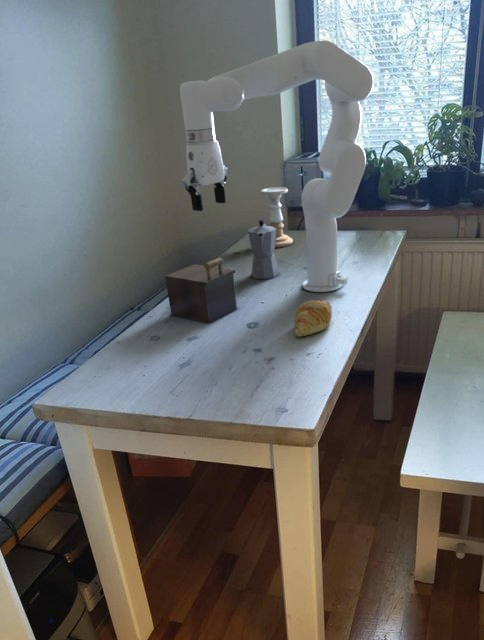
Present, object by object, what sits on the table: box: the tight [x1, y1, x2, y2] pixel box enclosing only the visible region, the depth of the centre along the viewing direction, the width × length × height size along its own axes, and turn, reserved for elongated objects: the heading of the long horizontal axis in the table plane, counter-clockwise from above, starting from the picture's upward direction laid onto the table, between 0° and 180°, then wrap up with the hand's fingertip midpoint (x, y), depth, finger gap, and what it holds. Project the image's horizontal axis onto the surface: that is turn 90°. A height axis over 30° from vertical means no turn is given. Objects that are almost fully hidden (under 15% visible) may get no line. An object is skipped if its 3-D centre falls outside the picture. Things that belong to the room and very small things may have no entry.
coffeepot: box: [247, 219, 279, 280], centre depth 203 cm, size 15×9×18 cm, turn 176°
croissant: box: [294, 299, 333, 337], centre depth 163 cm, size 21×10×8 cm, turn 156°
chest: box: [165, 273, 238, 324], centre depth 177 cm, size 15×13×11 cm
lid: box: [164, 256, 236, 285], centre depth 172 cm, size 16×13×5 cm
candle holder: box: [260, 186, 294, 248], centre depth 236 cm, size 12×12×20 cm
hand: (209, 206), depth 165 cm, fingers open, 9 cm apart
